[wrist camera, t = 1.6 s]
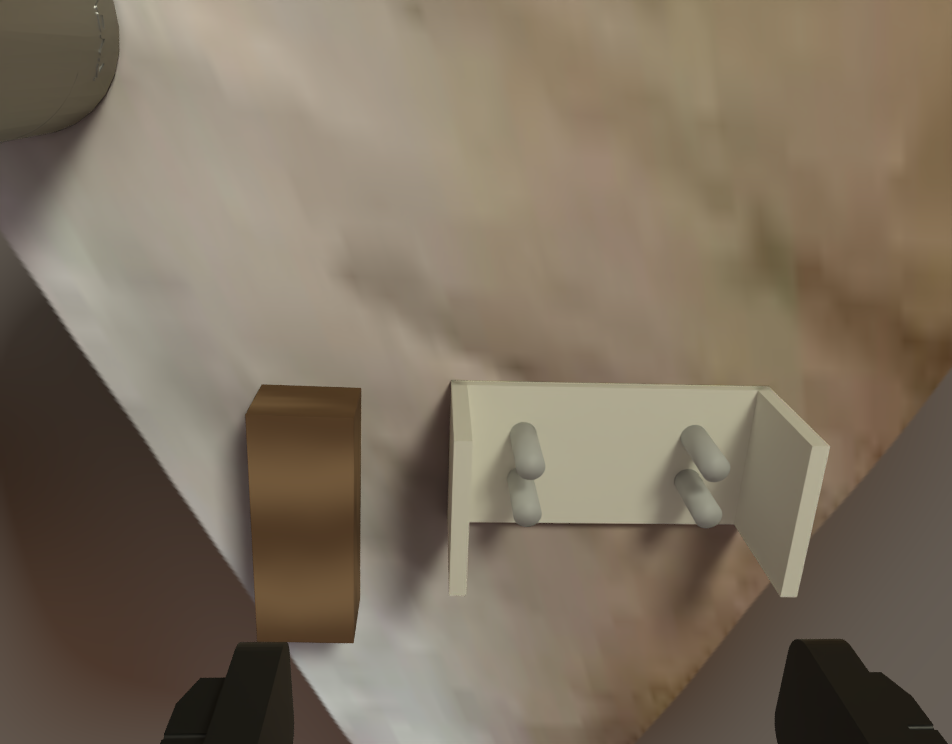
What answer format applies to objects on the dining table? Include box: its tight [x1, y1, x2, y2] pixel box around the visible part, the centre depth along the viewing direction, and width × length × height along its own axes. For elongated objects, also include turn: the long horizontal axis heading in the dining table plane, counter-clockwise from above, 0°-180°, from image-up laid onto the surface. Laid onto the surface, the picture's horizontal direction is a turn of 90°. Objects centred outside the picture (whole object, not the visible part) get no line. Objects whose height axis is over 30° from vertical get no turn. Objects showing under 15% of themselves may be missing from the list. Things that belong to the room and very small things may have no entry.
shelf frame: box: [447, 380, 830, 597], centre depth 39 cm, size 17×8×7 cm, turn 88°
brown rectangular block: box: [245, 385, 361, 643], centre depth 41 cm, size 13×5×4 cm, turn 177°
